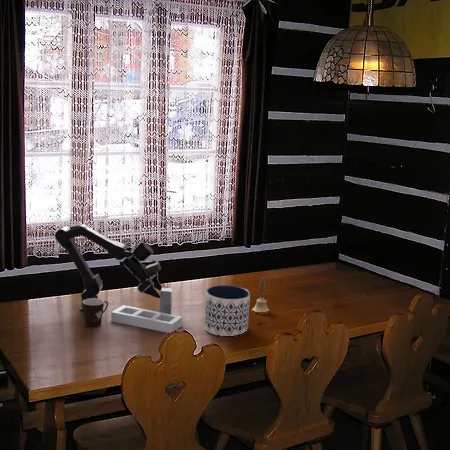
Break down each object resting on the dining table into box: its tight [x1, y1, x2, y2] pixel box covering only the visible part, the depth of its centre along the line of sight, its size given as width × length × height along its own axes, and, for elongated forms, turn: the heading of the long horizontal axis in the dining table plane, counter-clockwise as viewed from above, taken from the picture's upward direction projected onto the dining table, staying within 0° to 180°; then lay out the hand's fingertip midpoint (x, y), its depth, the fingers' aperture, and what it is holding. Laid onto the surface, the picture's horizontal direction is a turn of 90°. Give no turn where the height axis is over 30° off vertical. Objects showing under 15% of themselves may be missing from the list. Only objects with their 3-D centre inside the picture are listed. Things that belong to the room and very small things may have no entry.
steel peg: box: [159, 287, 173, 315], centre depth 299 cm, size 4×4×12 cm
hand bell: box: [251, 277, 270, 312], centre depth 311 cm, size 8×8×16 cm
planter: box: [203, 284, 251, 337], centre depth 287 cm, size 18×18×16 cm
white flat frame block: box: [110, 304, 183, 334], centre depth 289 cm, size 28×10×4 cm, turn 69°
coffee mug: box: [83, 298, 109, 329], centre depth 284 cm, size 12×9×10 cm
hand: (161, 294), depth 298 cm, fingers open, 9 cm apart
